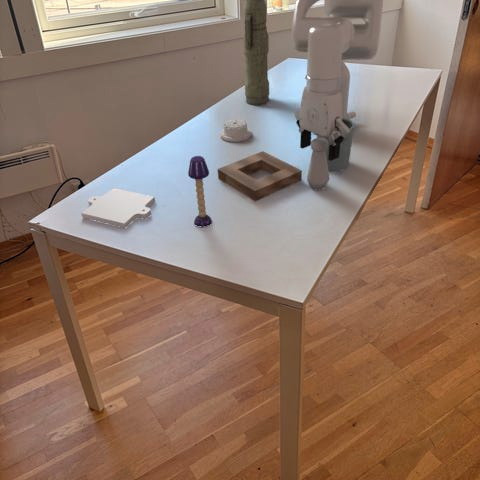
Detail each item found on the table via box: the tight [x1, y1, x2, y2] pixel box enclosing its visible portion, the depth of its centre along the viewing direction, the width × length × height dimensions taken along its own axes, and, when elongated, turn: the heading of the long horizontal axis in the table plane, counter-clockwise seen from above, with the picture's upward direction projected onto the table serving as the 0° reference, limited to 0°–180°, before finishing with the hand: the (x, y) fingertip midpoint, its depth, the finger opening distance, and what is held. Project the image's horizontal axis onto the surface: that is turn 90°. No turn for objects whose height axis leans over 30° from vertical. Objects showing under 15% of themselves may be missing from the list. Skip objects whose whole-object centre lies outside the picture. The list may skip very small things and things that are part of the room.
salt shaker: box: [306, 137, 330, 191], centre depth 122 cm, size 6×6×13 cm
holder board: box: [217, 150, 303, 202], centre depth 129 cm, size 16×16×3 cm
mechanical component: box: [219, 118, 252, 143], centre depth 153 cm, size 10×4×10 cm
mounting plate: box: [81, 187, 156, 229], centre depth 120 cm, size 18×13×2 cm
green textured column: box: [242, 0, 270, 106], centre depth 168 cm, size 9×12×35 cm
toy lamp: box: [187, 155, 213, 228], centre depth 109 cm, size 5×5×17 cm
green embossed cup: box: [316, 118, 356, 172], centre depth 131 cm, size 10×10×12 cm
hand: (319, 152), depth 119 cm, fingers open, 9 cm apart
